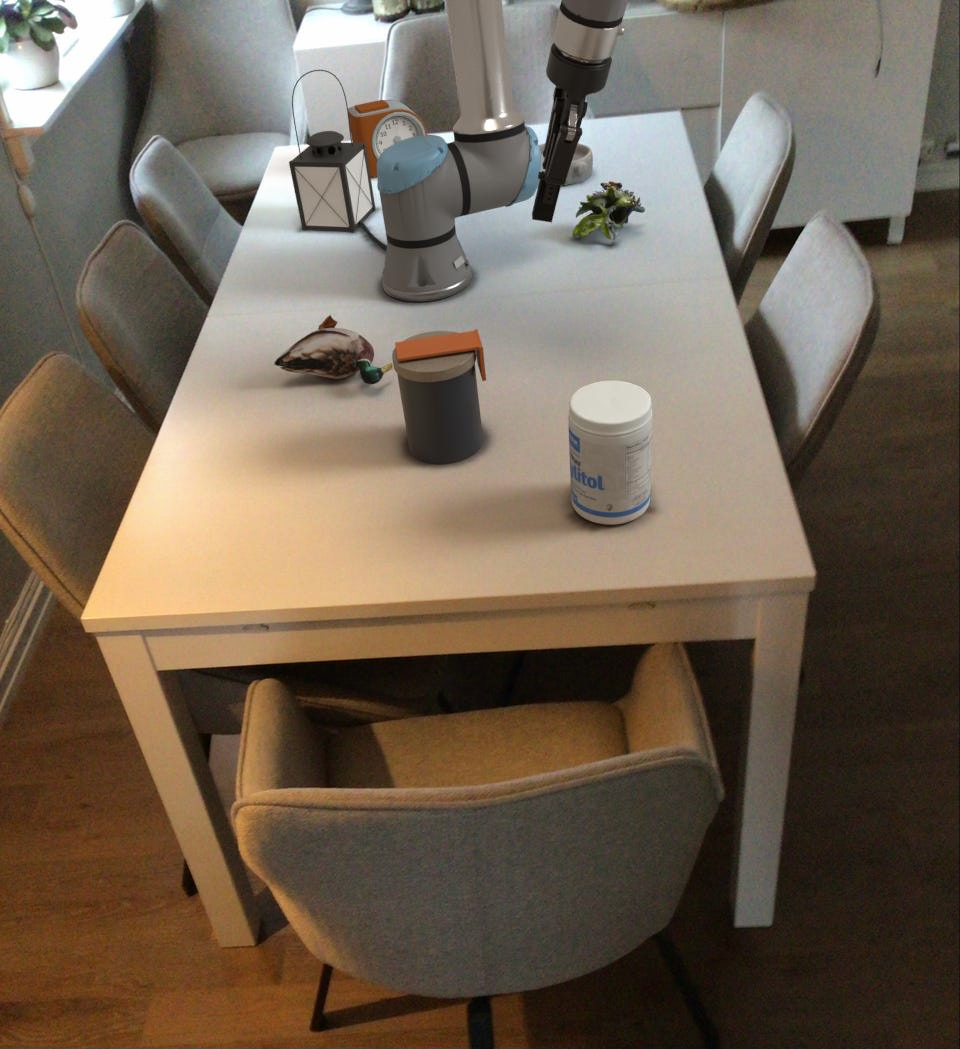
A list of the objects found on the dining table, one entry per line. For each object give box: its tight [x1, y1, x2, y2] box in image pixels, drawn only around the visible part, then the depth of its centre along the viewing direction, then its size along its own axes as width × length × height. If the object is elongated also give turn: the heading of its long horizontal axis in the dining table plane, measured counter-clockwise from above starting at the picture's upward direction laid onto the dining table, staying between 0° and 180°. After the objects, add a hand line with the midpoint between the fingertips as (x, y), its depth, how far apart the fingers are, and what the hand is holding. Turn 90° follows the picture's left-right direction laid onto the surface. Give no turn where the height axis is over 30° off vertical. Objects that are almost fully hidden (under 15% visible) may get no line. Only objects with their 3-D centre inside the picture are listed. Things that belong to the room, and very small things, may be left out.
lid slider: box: [394, 328, 487, 382], centre depth 137 cm, size 11×5×5 cm, turn 98°
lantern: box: [288, 69, 377, 233], centre depth 203 cm, size 11×11×28 cm
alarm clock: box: [347, 99, 428, 179], centre depth 228 cm, size 15×8×14 cm, turn 111°
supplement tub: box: [567, 380, 653, 526], centre depth 126 cm, size 10×10×15 cm
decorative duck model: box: [273, 314, 393, 385], centre depth 158 cm, size 15×8×15 cm
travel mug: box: [391, 330, 484, 465], centre depth 141 cm, size 11×11×14 cm
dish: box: [538, 142, 594, 186], centre depth 218 cm, size 14×14×5 cm
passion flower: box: [571, 180, 646, 247], centre depth 191 cm, size 11×11×12 cm
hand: (541, 217), depth 147 cm, fingers closed
